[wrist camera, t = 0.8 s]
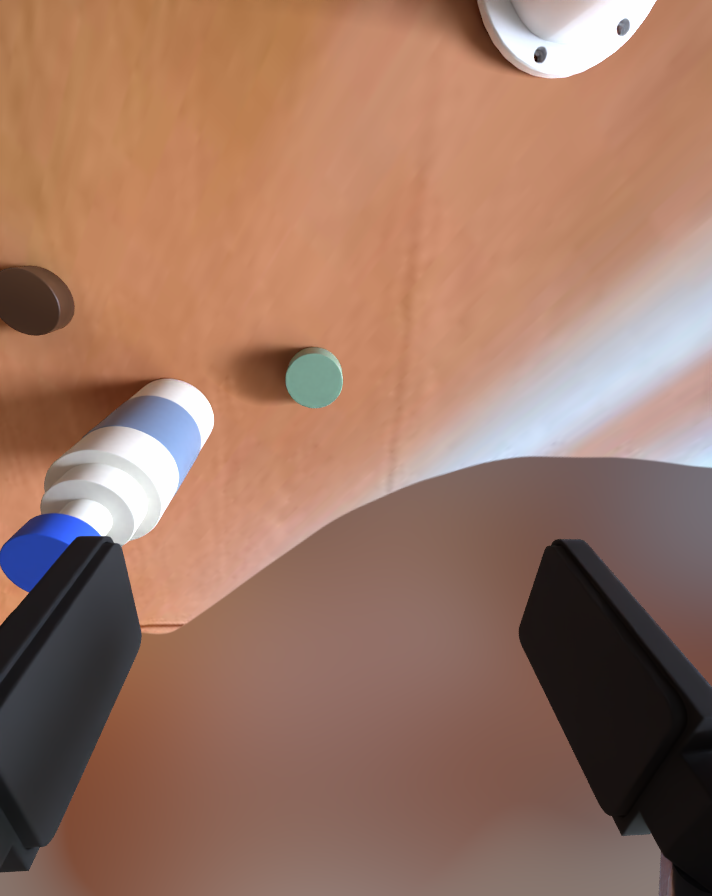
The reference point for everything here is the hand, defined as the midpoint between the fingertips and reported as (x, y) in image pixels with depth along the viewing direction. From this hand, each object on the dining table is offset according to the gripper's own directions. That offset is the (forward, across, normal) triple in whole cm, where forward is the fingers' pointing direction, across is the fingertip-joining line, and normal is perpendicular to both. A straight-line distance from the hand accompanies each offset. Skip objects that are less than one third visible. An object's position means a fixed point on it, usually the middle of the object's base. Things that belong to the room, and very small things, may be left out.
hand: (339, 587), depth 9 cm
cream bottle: (+31, +14, +9) cm, 35 cm away
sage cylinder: (+31, +1, +4) cm, 31 cm away
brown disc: (+31, +24, -1) cm, 39 cm away
